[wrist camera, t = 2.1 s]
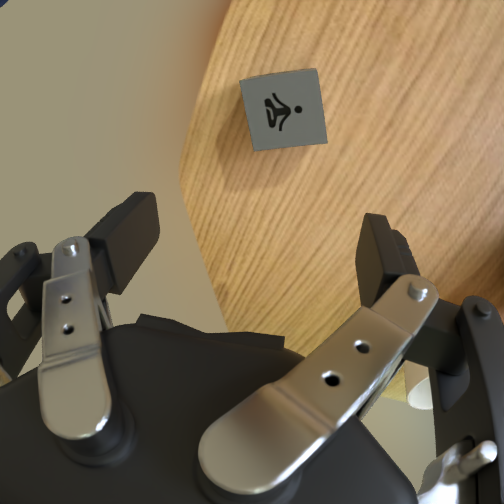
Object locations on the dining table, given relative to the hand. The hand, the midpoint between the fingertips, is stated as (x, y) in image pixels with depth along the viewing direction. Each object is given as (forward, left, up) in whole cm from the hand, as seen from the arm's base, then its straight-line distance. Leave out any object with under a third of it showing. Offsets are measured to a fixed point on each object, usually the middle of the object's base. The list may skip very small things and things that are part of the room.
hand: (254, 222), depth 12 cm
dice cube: (0, +2, -16) cm, 16 cm away
